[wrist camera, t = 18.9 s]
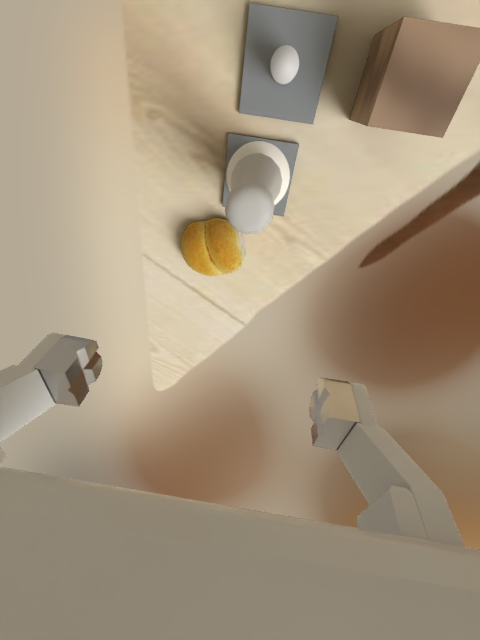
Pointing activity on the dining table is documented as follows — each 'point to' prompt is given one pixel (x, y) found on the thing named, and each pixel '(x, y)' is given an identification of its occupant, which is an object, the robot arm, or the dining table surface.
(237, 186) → the salt shaker
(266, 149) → the board
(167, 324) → the dining table surface
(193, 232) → the bread roll
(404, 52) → the brown wooden block
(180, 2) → the dining table surface
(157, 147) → the dining table surface
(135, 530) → the robot arm
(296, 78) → the board
